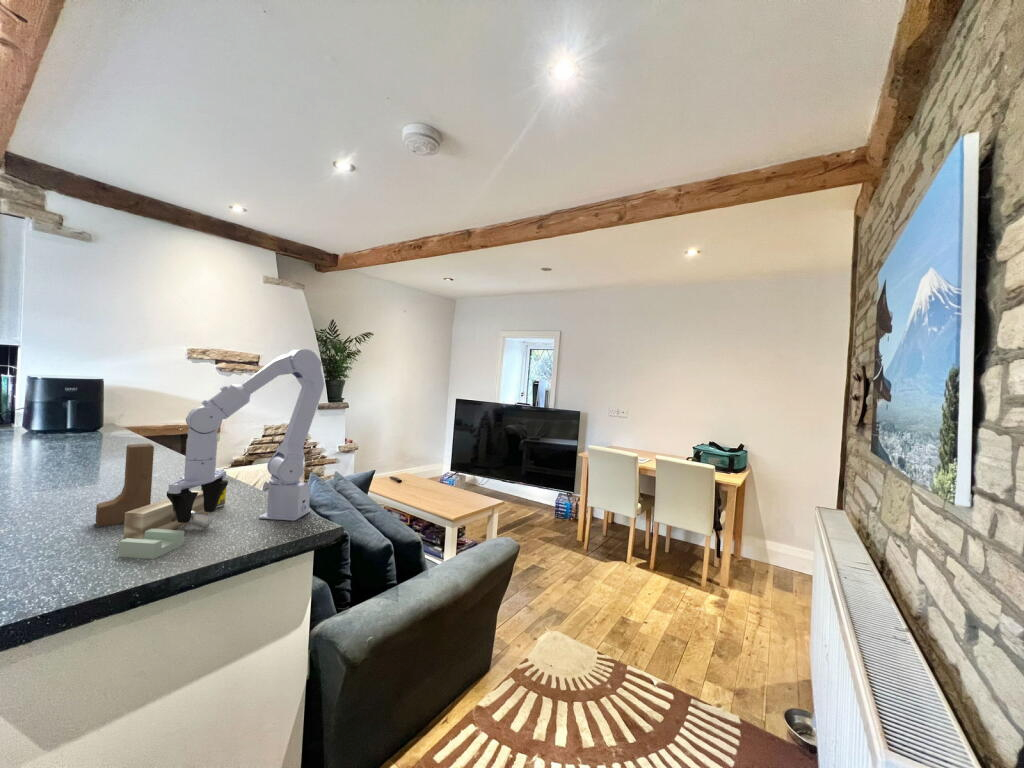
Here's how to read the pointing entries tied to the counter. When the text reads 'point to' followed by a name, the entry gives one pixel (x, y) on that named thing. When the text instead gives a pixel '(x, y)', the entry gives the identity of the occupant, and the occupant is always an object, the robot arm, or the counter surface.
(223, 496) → the supplement bottle
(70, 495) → the counter surface
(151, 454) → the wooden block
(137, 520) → the beam
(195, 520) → the axle
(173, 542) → the v block
